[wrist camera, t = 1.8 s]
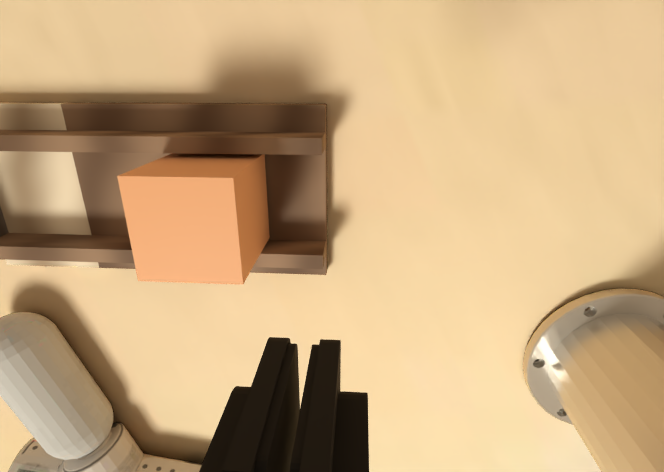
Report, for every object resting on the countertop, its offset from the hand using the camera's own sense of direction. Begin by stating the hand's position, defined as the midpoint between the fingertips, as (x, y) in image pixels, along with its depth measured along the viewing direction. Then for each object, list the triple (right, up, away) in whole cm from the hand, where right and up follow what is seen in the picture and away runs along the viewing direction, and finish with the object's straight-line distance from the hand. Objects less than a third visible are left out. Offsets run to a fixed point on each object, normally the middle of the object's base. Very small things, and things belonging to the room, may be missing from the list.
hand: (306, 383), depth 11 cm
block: (-7, +7, +17) cm, 20 cm away
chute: (-12, +7, +19) cm, 23 cm away
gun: (-15, -17, +29) cm, 37 cm away
